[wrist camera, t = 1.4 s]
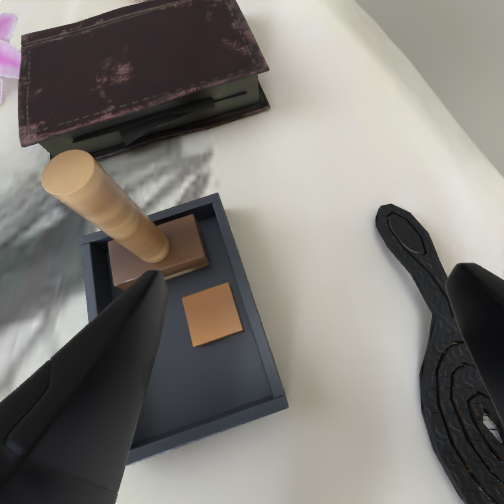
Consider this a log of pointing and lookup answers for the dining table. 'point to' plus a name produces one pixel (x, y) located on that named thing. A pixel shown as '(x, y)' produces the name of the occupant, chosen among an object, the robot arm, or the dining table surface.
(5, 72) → the lily
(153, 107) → the diary
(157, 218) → the baking tray
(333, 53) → the dining table surface
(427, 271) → the hairbrush
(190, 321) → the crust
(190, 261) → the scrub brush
